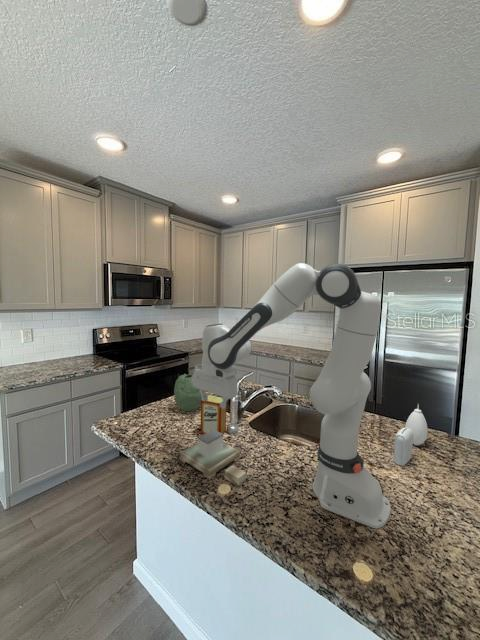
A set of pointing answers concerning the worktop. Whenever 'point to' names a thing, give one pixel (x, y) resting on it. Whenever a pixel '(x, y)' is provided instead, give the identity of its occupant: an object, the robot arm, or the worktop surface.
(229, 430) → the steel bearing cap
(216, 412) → the baking soda box
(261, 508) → the worktop surface
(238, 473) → the beech block
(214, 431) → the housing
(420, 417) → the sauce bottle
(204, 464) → the stand
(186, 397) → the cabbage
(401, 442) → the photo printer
